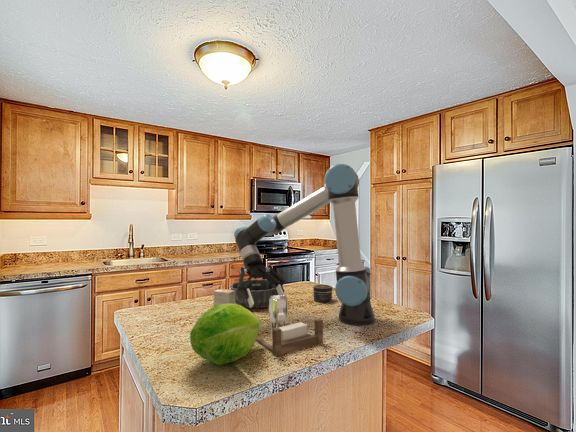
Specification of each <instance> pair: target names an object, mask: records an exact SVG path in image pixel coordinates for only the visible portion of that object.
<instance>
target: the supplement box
mask: <svg viewBox="0 0 576 432" xmlns="http://www.w3.org/2000/svg"><path fill="white" fill-rule="evenodd" d="M221 304H236V302H235V290H231V289H225V288H218V289H215V290H213V307H214V306H217V305H221Z"/></svg>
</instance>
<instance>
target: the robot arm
mask: <svg viewBox="0 0 576 432" xmlns="http://www.w3.org/2000/svg"><path fill="white" fill-rule="evenodd" d="M359 185H360V178H359V175H358V173H356V171H355V169H353V167H351V165H348V164H345V163H336V164H334V165H332V166H330V167H329V168H328V169H327V171H326V173H325V175H324V185H323V186H322V187H321V188H319V189H318V190H316V191H314V192H313V193H311V194H309V195H308V196H305V197H304V198H302V199H300V200H299V201H297V202H296V203H294V204H292V205H291V206H289V207H288V208H285V209H284V210H282V211H281V212H278V213H277V214H276V215H274V216H271V215H270V214H269V213H264V214H263V215H261V216H259V217H258V218H257V219H256V220H255V221H254V222H252V224H250V225H249V226H248V227H247V226H241V227H238V228H237V229H236V230H235V231H234V232H233V236H234V240H235V243H236V245H237V249H238V250H239V254H240V256H241V260H242V262H243V265H244V267H243V266H242V267H240V270H239V271H238V272H239V278H238V281H237V282H238V287H237V291H241V293H243V294H244V297H245V299H247V300H248V303H249V306H250V308H249V309H252V308H251V307H252V306H253V305H254V301H253V299H252V296H251V293H250V290H249V288H248V289H246V288H247V286H248V284H249V282H250V281H251V280H255V279H265V280H268V281H269V282H271V283H272V284H274V285H275V286H277V288H276V289H277V292H278V294H279V295H283V296H286V295H285V289H284V284H285V283H286V280H285V279H284V278H283V277H282V276H281V275H280V274H279V273H278V272H277V271H276V270H275V269H274V268H273V267H272V265H271V264H269V265H268V266H265V265H264V262H263V259H262V257H261V254H260V252H259V249H258V247H257V243H258V242H259V241H260V240H262V239H263V238H264V237H266V236H272V235H273V236H275V235H278V234H280V233H281V232H283V230H285V229H286V228H288V227H290V226H292V225H294V224H295V223H297V222H299V221H300V220H302V219H304V218H306V217H308V216H309V215H311V214H313V213H314V212H316V211H318V210H320V209H321V208H322V209H323V207H325V206H327V205H328V204H332V206H333V207H332V210H333V216H334V217H333V219H334V228H335V237H336V247H337V259H338V260H337V261H338V266H337V267H336V269H335V277H336V283H335V287H334V290H335V291H334V292H335V295H336V297H337V299H338V301H340V302H341V305H340V309H339V312H338V320H339V321H340V322H342V323H344V324H347V325H352V326H368V325H372V324H374V323H375V321H376V320H375V313H374V309H373V306H372V303H371V302H372V301H371V275H372V273H371V268H370V267H368V266H364V264H362V258H361V248H360V247H361V246H360V237H359V229H358V228H359V227H358V220H357V219H358V218H357V217H358V216H357V207H356V202H357V200H358V199H359V198H360V197H359ZM245 274H247V275H249V276H248V278H247V279H246V280H247V281H246V283H245V285H244V287H243V286H242V283H243V281H244V277H245Z"/></svg>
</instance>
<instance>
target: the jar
mask: <svg viewBox="0 0 576 432" xmlns="http://www.w3.org/2000/svg"><path fill="white" fill-rule="evenodd" d="M312 290H313V292H312V295H313V300H314V302H316V303H320V304H326V303H327V304H328V303H331V302H332V300H333V286H332V285H330V284H315V285H313V289H312Z"/></svg>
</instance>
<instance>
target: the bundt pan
mask: <svg viewBox="0 0 576 432" xmlns="http://www.w3.org/2000/svg"><path fill="white" fill-rule="evenodd" d="M247 280H248V279H246V280H243V283H242V286H243V287H244V285H245V283H246V281H247ZM238 282H239V281H237V282H233V283H231V285H229V287H230V290H235V304H238V305H241V306H243V307H244V308H246V309H248V308H249V309H253V308H256V309H259V308H266V307H269V297H270V296H273V295H279V294H278V292H277V289H276V288H277V286H275V285H274V284H272V283H271V282H269V281H268V280H266V279H264V278H261V279H258V278H256V279H251V281H250V282H249V284H248V286H247V288H246V289H248V288H249V290H250V293H251V296H252V299H253V301H254V305H253V306H252V307H251V308H250V306H249V303H248V300H247V299H245V297H244V294H243V293H241V291H237V287H238Z"/></svg>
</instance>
